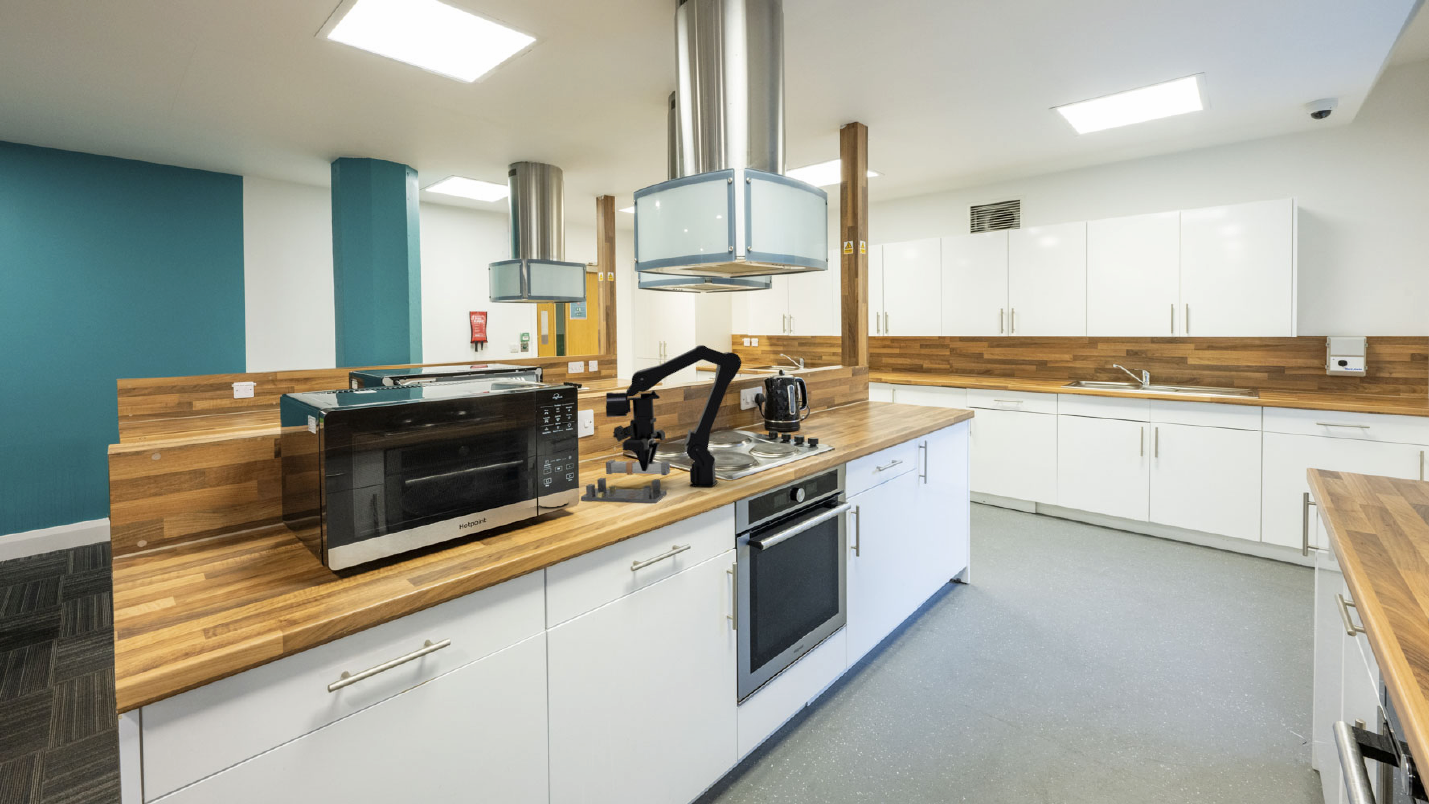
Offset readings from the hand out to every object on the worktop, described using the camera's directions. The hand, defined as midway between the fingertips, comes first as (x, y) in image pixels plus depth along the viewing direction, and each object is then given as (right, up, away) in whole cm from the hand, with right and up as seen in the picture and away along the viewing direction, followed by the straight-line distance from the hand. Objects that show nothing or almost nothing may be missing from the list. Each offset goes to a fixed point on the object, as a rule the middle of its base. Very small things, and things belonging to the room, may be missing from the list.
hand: (646, 469), depth 170 cm
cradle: (-5, -6, -8) cm, 12 cm away
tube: (-2, -1, +1) cm, 3 cm away
